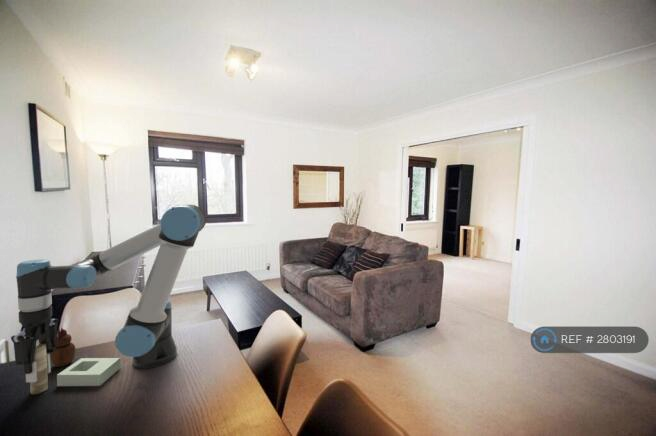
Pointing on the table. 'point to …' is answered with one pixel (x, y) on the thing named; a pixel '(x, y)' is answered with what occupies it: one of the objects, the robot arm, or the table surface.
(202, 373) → the table surface
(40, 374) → the dowel
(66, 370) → the socket block
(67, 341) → the wooden figurine
